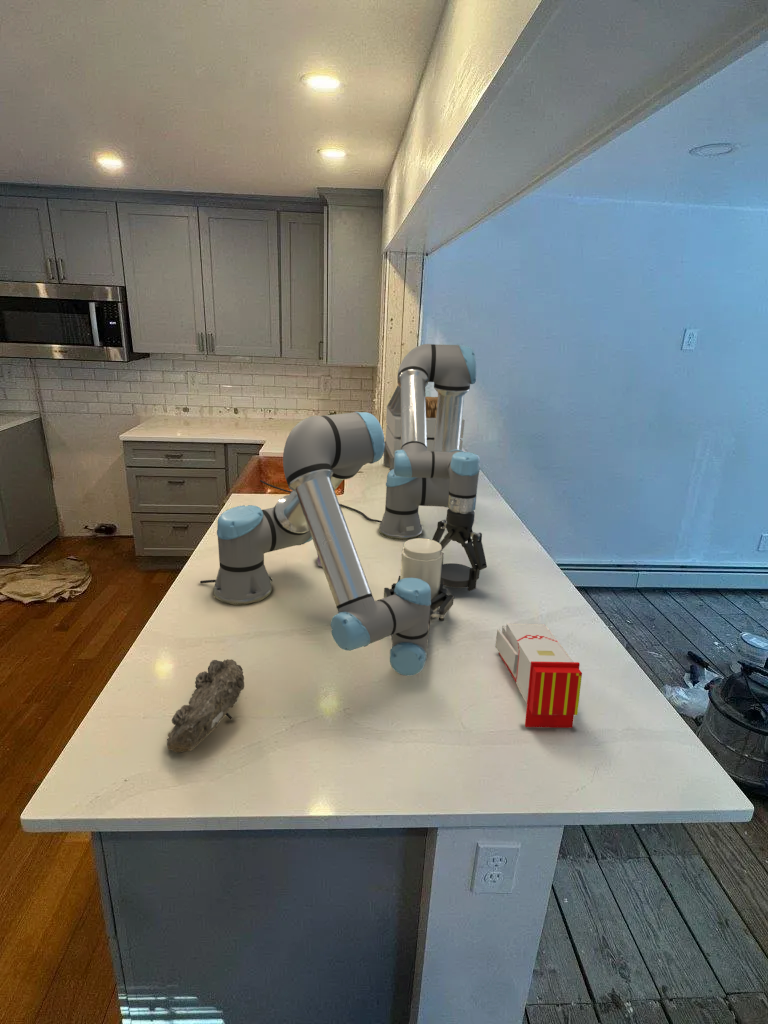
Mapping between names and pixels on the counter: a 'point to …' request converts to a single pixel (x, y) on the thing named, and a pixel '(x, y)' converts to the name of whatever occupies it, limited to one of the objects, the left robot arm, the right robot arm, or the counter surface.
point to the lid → (455, 575)
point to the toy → (541, 674)
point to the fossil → (206, 705)
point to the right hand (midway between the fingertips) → (454, 581)
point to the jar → (423, 562)
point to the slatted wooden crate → (395, 426)
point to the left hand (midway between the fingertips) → (420, 582)
